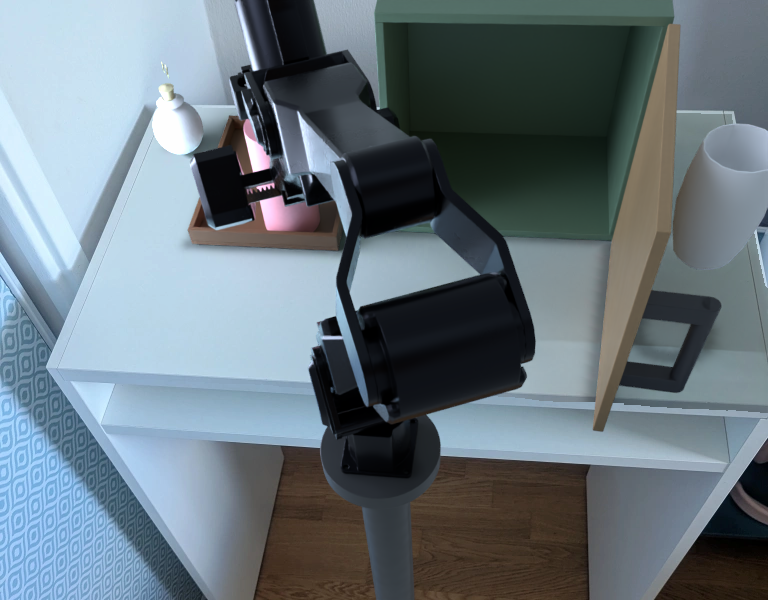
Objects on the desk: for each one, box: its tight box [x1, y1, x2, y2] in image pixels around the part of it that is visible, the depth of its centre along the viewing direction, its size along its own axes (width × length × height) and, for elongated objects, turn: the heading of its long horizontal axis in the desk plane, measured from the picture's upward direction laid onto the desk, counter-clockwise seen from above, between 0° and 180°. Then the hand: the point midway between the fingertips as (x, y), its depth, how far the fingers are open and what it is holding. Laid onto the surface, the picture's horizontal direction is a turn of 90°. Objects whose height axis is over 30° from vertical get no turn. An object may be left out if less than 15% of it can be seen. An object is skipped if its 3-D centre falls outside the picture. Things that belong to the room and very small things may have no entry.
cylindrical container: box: [243, 119, 320, 232], centre depth 83 cm, size 6×6×12 cm
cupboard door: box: [592, 23, 722, 433], centre depth 67 cm, size 7×26×23 cm, turn 168°
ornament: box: [152, 61, 204, 155], centre depth 92 cm, size 6×7×10 cm
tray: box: [187, 114, 344, 252], centre depth 91 cm, size 21×17×2 cm
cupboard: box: [373, 0, 675, 242], centre depth 80 cm, size 18×26×24 cm
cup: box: [672, 122, 768, 271], centre depth 68 cm, size 7×7×21 cm
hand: (295, 186), depth 76 cm, fingers open, 9 cm apart
